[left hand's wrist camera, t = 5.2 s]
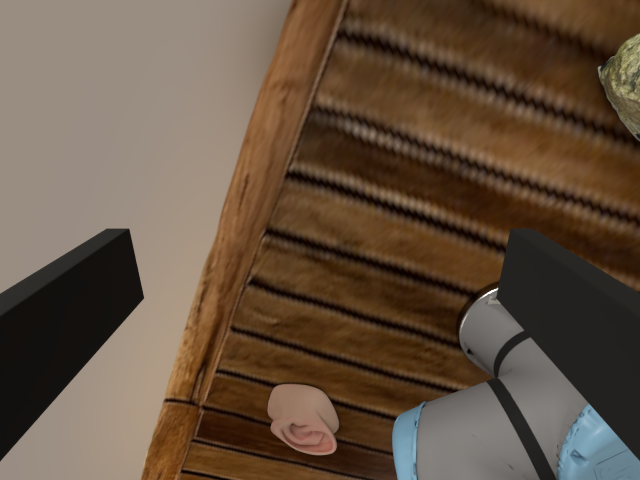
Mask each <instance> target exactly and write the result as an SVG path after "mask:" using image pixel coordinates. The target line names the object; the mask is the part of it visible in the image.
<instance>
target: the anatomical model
mask: <svg viewBox="0 0 640 480" xmlns="http://www.w3.org/2000/svg"><path fill="white" fill-rule="evenodd" d="M268 414H269V416H270V417H271V419H272V420H274V421H273V422H272V424H271V431H272V432H273V433H274V434H275V435H276V436H278V437H279V438H280V439H281V440H283V441H284V442H285V443H286V444H288V445H289V446H291V447H292V448H294V449H296V450H298V451H300V452H304V453H308V454H313V455H326V454H331V453H333V452H334V451H335V450H336V447H337V443H336V439H335V436H334V434H333V433H335V432H336V431H337V430H338V428H339V421H338V417H337V414H336V411H335V409H334V407H333V405H332V403H331V401H330V400H329V398H328V397H327V396H326V394H325V393H324V392H322V391H321V390H319V389H317V388H315V387H312V386H307V385H299V384H282V385H278V386H276V387H275V388H274V389H273V391H272V393H271V396H270V399H269V402H268Z"/></svg>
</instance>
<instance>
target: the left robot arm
mask: <svg viewBox="0 0 640 480" xmlns="http://www.w3.org/2000/svg"><path fill="white" fill-rule="evenodd" d="M143 299H144V295H143V291H142V286H141V281H140V277H139V272H138V267H137V263H136V258H135V253H134V249H133V244H132V239H131V235H130V230H129V229H106V230H104V231H102V232H101V233H99V234H97V235H96V236H94V237H93V238H91V239H89V240H88V241H86V242H84V243H83V244H81V245H79V246H78V247H76V248H75V249H73V250H71V251H70V252H68V253H66V254H65V255H63V256H61V257H60V258H58V259H56V260H55V261H53V262H52V263H50V264H48V265H47V266H45V267H43V268H42V269H40V270H38V271H37V272H35V273H33V274H32V275H30V276H29V277H27V278H25V279H24V280H22V281H20V282H19V283H17V284H16V285H14V286H12V287H10V288H9V289H7V290H6V291H4V292H2V293H1V294H0V461H1V460H2V459H3V457H4V456H5V455H6V454H7V453H8V452H9V451H10V450H11V448H12V447H13V446H14V445H15V444H16V443H17V442H18V440H19V439H20V438H21V437H22V436H23V435H24V434H25V433H26V431H27V430H28V429H29V428H30V427H31V426H32V425H33V424H34V422H35V421H36V420H37V419H38V418H39V417H40V416H41V414H42V413H43V412H44V411H45V410H46V409H47V408H48V407H49V405H50V404H51V403H52V402H53V401H54V400H55V399H56V397H57V396H58V395H59V394H60V393H61V392H62V391H63V390H64V388H65V387H66V386H67V385H68V384H69V383H70V382H71V380H72V379H73V378H74V377H75V376H76V375H77V374H78V373H79V371H80V370H81V369H82V368H83V367H84V366H85V365H86V363H87V362H88V361H89V360H90V359H91V358H92V357H93V355H94V354H95V353H96V352H97V351H98V350H99V349H100V347H101V346H102V345H103V344H104V343H105V342H106V341H107V340H108V339H109V337H110V336H111V335H112V334H113V333H114V332H115V331H116V329H117V328H118V327H119V326H120V325H121V324H122V323H123V321H124V320H125V319H126V318H127V317H128V316H129V315H130V314H131V312H132V311H133V310H134V309H135V308H136V307H137V306H138V304H139V303H140V302H141V301H142V300H143ZM456 335H457V339H458V342H459V344H460V346H461V348H462V349H463V351H464V353H465V355H466V356H467V357H468V358H469V359H470V360H471V361H472V362H473V363H474V364H476V365H477V366H478V367H479V368H481V369H482V370H483V371H485V372H486V373H487V374H488V375H490V376H491V377H492V378H494V379H492V380H489V381H486V382H483V383H481V384H478V385H475V386H472V387H469V388H466V389H464V390H461V391H458V392H455V393H452V394H449V395H446V396H444V397H441V398H438V399H435V400H432V401H429V402H427V401H425V402H423V403H422V404H420V406H418V407H416V408H413V409H411V410H408V411H406V412H404V413H402V414H400V415H399V416H398V418H397V419H396V421H395V424H394V428H393V435H392V442H393V455H394V462H395V467H396V473H397V478H398V480H640V294H639V293H638V292H636V291H634V290H633V289H631V288H630V287H628V286H626V285H625V284H623V283H621V282H620V281H618V280H616V279H615V278H613V277H611V276H610V275H608V274H607V273H605V272H603V271H602V270H600V269H598V268H597V267H595V266H593V265H592V264H590V263H589V262H587V261H585V260H584V259H582V258H580V257H579V256H577V255H575V254H574V253H572V252H570V251H569V250H567V249H566V248H564V247H562V246H561V245H559V244H557V243H556V242H554V241H552V240H551V239H549V238H547V237H546V236H544V235H543V234H541V233H539V232H538V231H536V230H534V229H511V230H510V235H509V239H508V244H507V249H506V253H505V258H504V263H503V267H502V272H501V277H500V281H499V282H497V283H494V284H491V285H489V286H487V287H485V288H483V289H482V290H480V291H479V292H477V293H476V294H475V295H474V296H472V297H471V298H470V299H469V300H468V302H467V303H466V304H465V305H464V307H463V308H462V310H461V312H460V314H459V316H458V319H457V324H456Z"/></svg>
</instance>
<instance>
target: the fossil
mask: <svg viewBox="0 0 640 480" xmlns="http://www.w3.org/2000/svg"><path fill="white" fill-rule="evenodd" d="M598 72H599V78H600V82H601V83H602V85H603V86H604V89H605V91H606V95H607V98H608V100H609V101H610V102H611V104H612V106H613V108H614V109H615V110H616V111H617V113H618V116H619V118H620V120H621V121H622V122H623V123H624V125H625V126H626V127H627V128H628V130H629V131H630V132H631V133H632V134H633V135H634V136H635V137H636V139H638V140H639V141H640V34H637V35H635V36H633V37H632V38H630V39H628V40H627V41H625V42H624V43H623V44H622V45H621V46H620V47H619V49H618V51H617V53H616V55H615V56H613V57H611V58H610V59H609V60H608V61H607V62H606V64H605V65H602V66H600V67H598Z"/></svg>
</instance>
